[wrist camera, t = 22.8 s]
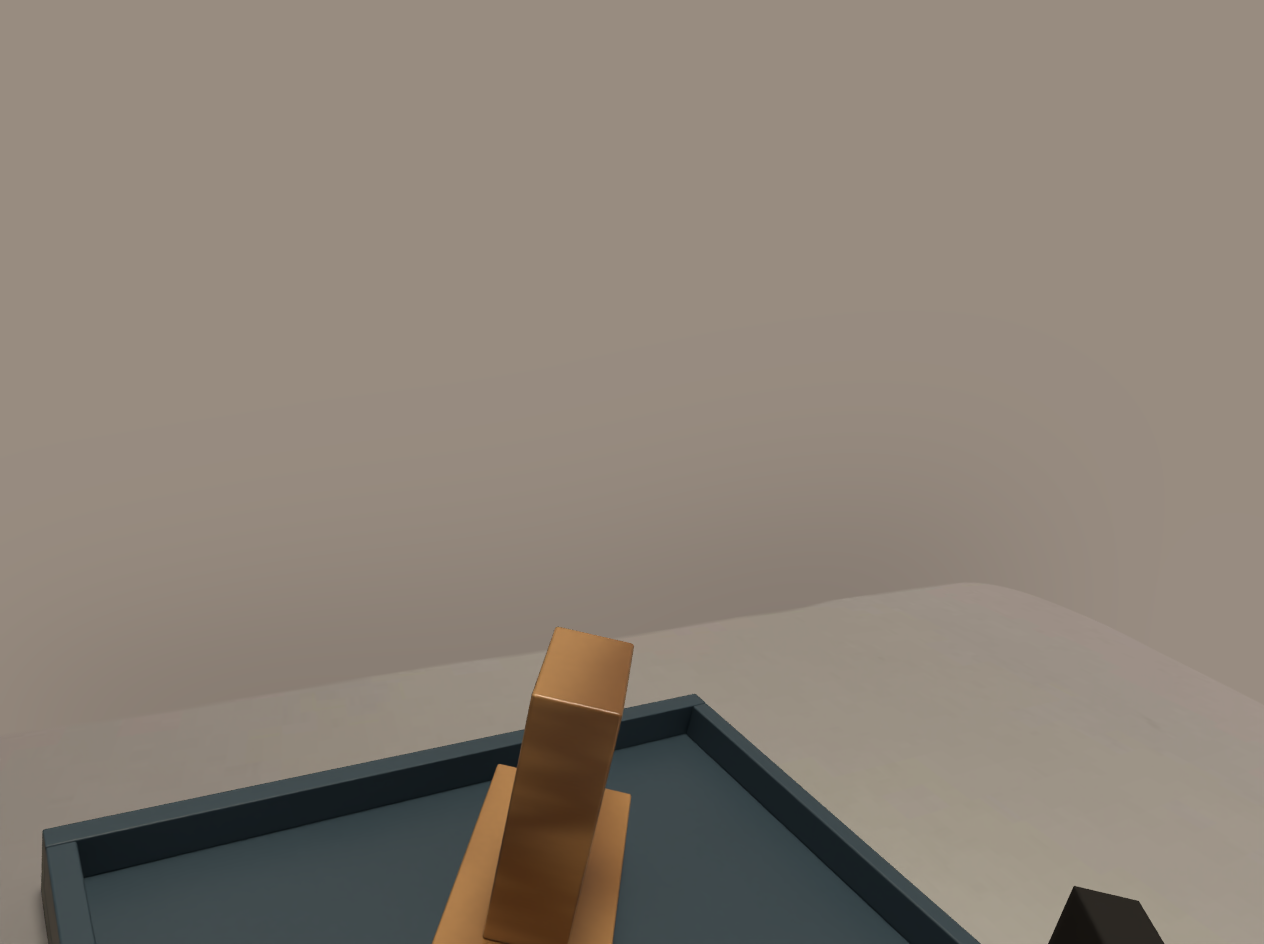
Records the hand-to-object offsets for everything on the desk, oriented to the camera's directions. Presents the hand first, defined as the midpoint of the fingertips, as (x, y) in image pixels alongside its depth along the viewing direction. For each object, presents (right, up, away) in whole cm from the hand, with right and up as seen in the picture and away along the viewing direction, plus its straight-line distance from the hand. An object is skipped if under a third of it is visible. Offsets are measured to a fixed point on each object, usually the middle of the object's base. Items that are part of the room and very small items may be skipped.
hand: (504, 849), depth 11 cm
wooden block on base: (-2, -10, +18) cm, 21 cm away
